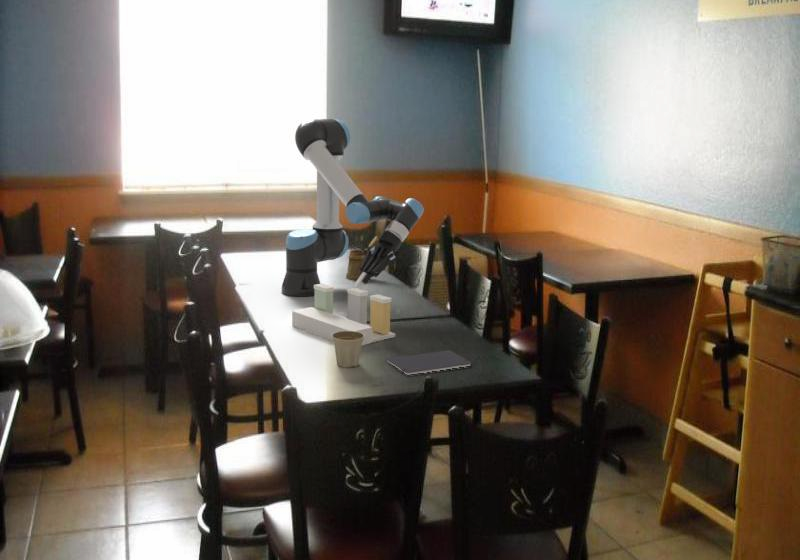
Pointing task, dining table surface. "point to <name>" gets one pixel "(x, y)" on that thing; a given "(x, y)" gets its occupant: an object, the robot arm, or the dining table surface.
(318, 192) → the robot arm
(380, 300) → the yellow tall block
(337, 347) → the flower pot
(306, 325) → the keypad base
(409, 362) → the notebook
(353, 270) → the wooden mug
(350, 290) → the grey tall block
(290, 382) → the dining table surface
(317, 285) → the pale green tall block
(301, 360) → the dining table surface
